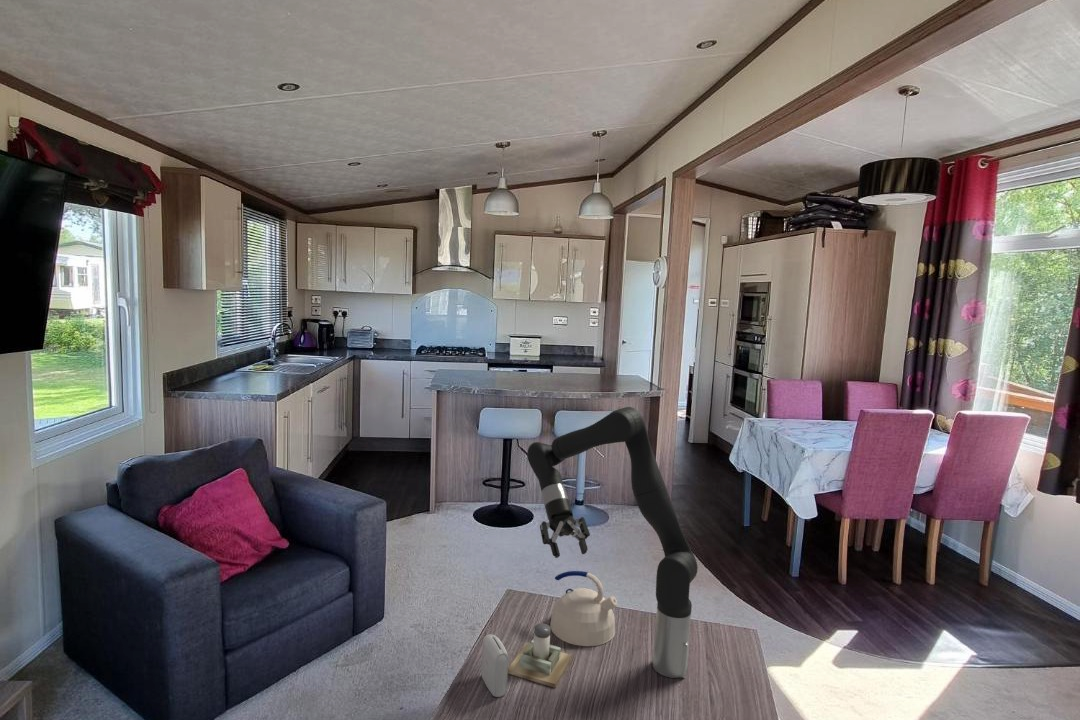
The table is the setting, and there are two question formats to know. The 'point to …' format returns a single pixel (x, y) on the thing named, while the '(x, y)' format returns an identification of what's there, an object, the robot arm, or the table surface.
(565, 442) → the robot arm
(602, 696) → the table surface
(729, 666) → the table surface
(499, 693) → the photo printer
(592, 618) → the kettle
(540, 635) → the grey and white cylinder
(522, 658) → the holder
